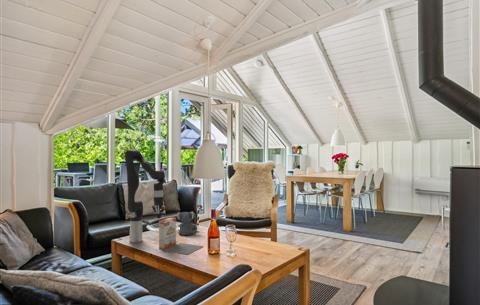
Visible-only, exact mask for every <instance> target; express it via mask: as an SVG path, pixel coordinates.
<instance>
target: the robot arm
mask: <svg viewBox="0 0 480 305" xmlns="http://www.w3.org/2000/svg"><path fill="white" fill-rule="evenodd" d="M124 160H125V166H126V181H127V210H128V212H129V213H133V215H131V216H130V218H129V220H130V222H129V226H130V227H129V231H128V232H129V242H130V243H134V244H135V243H136V244H137V243H141V242H142V241H143V215H144V203H143V202H142V200H140V199H138V200H136V199H135V197H136V193H137V192H138V191H137V190H138V189H139V186H140V176H139V173H138V172H137V170H136V169H135V166H134V161H136V162H138V163H140V165H141V167H142V169H143V170H144V171H145V172H146V173H148V175H149V176H150V178H152V179H153V180H155V181H156V182H155V183H153V205H151V208H152V210H153V212H154V213H156V218H157V219H161V218H162V213H164V211H165V209H166V208H167V207H166V206H165V205H164V202H165V200H164V197H165V196H164V182H165V177H166V174H165V172H164V171H163V170H157V168H156V167H155V165H153V164H152V163H151V162H150V161H148V160H147V158H145V156H144V155H143V154H142V153H141V152H140V151H139V150H138V149H127V150H125V152H124Z"/></svg>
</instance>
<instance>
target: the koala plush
mask: <svg viewBox="0 0 480 305" xmlns="http://www.w3.org/2000/svg"><path fill="white" fill-rule="evenodd" d="M176 215H177V216H176V218H177V219H178V220H179V221H181V222H180V223H179V224H178V225H177V226H178V227H180V230H179V229H178V232H177V233H178V234H179V235H182V236H189V235H190V236H191V235H194V234H195V233H196V232H197V230H198V225H197V223H193V222H192V220H193V218H194V217H195V213H194V211H190V212H186V211H185V212H177V214H176ZM178 227H177V228H178Z"/></svg>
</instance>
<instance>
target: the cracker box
mask: <svg viewBox="0 0 480 305" xmlns="http://www.w3.org/2000/svg"><path fill="white" fill-rule="evenodd" d="M176 241H177V217H168V218H164V219H160V220H158V248H159V249H163V250H165V249H167V248H169V247H172V246H174V245H176V244H177V243H176Z"/></svg>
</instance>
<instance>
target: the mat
mask: <svg viewBox="0 0 480 305" xmlns="http://www.w3.org/2000/svg"><path fill="white" fill-rule="evenodd" d="M202 248H204V246H203V245H197V244H190V243H184V242H178V243H176V244H175V245H173V246H171V247H168V248H166V249H163V252H168V253H169V252H170V253H174V254H181V255H187V256H189V255H190V254H192V253H195V252H196V251H198V250H200V249H202Z"/></svg>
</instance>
